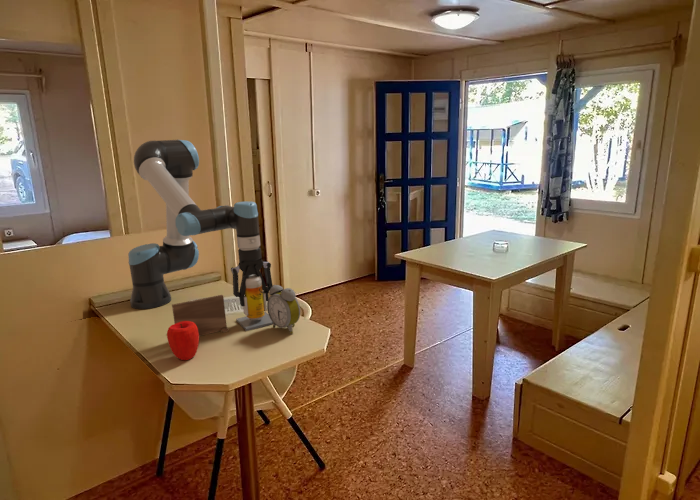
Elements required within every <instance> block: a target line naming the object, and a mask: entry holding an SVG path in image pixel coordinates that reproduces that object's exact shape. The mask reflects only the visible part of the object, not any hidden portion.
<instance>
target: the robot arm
mask: <svg viewBox="0 0 700 500" xmlns="http://www.w3.org/2000/svg"><path fill="white" fill-rule="evenodd" d="M198 153H199V152H198V150H197V148H196V147H195V145H194V144H193V143H192V142H191V141H189V140H186V139H185V140H184V139H167V140H148V141H146V142H143V143H142V144H140V145H139V146H138V148H137V149H136V151H135V153H134V156H133V165H134V168H135V171H136V172H137V174H138V175H139V176H140V178H142V180H144V181H147V182H148V183H149V184H150V185H151V187H152V188H153V189H154V190H155V192H156V193H157V194H158V196H159V197H160V198H161V199H162V201H163V202H164V203H165V213H166V214H165V218H166V236H165V237H163V238H162V245H159V244H158V243H157V242H156V243H154V242H153V243H147V244H143V245H142V244H141V245H138V246H136V247H133V248H132V249H130V251H129V252H128V257H127V258H128V265H129V271H130V276H131V283H132V290H131V295H130V296H131V297H130V307H131V309H135V310H145V309H147V310H148V309H153V308H154V309H155V308H159V307H162V306H164V305H167V304H168V303H171V302H172V295H171V293H170V290H169V289H168V286H167V285H166V283H165V279H164V278H165V277H164V275H167V274H171V273H175V272H178V271H185V270H186V271H187V269H191V268H193V267H195V265H197V263H198V260H199V255H200V253H199V249H198V245H197V243H196V241H194V239H193V237H191V236H197V235H202V234H206V233H211V232H217V231H223V230H228V229H233V230H235V232H236V233H235V234H236V244H237V248H238V250H237V251H238V252H237V253H238V265H237V266H235V267H230V272H231V273H232V293H233V296H234V297H236V298H239V305H240V306H241V307H242V308H243V309H242V311H243V314H244V315H245V317H246V316H248V307H247V297H245V290H246V279H248V278H249V275H252V274H256V275H257V276H258V277H259V276H260V277H261V279H262V290H263V302H264V312H268V310H267V302H268V299H269V291H270V289H271V287H273V285H274V284H273V278H272V274H271V267H272V264H271V262H270V261H264V260H263V259H262V258H263V257H262V248H261V237H260V222H259V212H258V205H257V203H256V202H255V201H252V200H251V201H238V202H236V203H234V205H233V206H230V205H219V206H217V207H215V208H208V209H201V208H200V207H199V206H198V205H197V203H195V201H194V200H193V199H192V198H191V196H190V191H189V189H190V188H189V187H190V185H189V184H190V182H189V181H190V179H192V177H193V173H194V172H193V171H195V170H197V169H198V167H199V165H200V157H199V154H198ZM262 267H263V268H264V273H265V279H264V277H263V275H262V272H261V269H262ZM240 271H241V272H242V275H241V276H242V278H241V282H240V286H239V273H240ZM265 281H266V282H265Z"/></svg>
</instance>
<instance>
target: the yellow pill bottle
mask: <svg viewBox="0 0 700 500" xmlns="http://www.w3.org/2000/svg"><path fill="white" fill-rule="evenodd" d="M244 296H245V297H247V307H248V316H247V317H248V318H249V319H250V320H259V319H262V318H263V316H264V315H265V313H264V312H265V311H264V302H263V290H262V279H261V277H260V276H259V277H258V276H257V275H256V274H252V275H249V278H248V279H246V290H245V295H244Z"/></svg>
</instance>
